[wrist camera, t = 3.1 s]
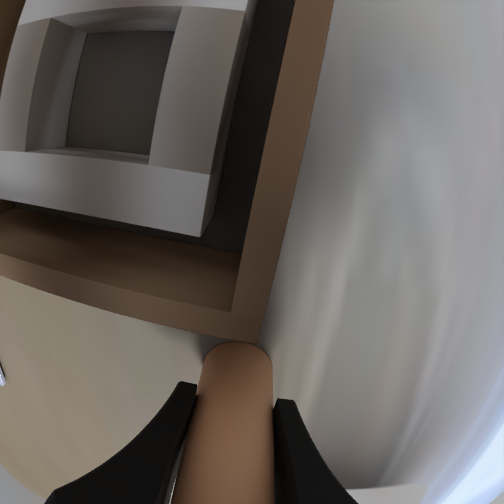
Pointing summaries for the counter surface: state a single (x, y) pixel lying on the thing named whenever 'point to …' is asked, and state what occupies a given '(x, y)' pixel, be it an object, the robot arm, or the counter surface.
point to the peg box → (149, 162)
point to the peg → (230, 431)
